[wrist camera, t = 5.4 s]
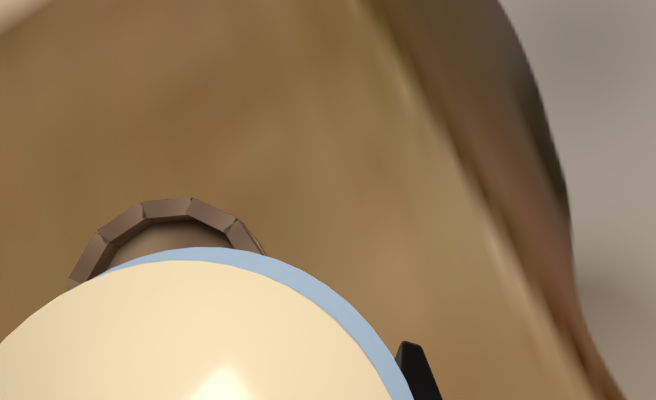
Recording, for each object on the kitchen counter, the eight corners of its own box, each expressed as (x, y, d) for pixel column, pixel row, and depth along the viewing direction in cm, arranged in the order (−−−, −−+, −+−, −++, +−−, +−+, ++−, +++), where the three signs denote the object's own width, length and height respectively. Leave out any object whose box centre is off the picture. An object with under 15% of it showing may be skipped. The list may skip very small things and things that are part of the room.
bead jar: (254, 432, 15) (-140, 960, 3) (237, 299, 16) (-101, 287, 4) (383, 408, 15) (522, 842, 3) (358, 277, 16) (382, 197, 4)
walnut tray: (85, 406, 22) (59, 417, 20) (93, 214, 24) (71, 206, 22) (280, 392, 22) (273, 401, 20) (270, 198, 24) (263, 189, 22)
